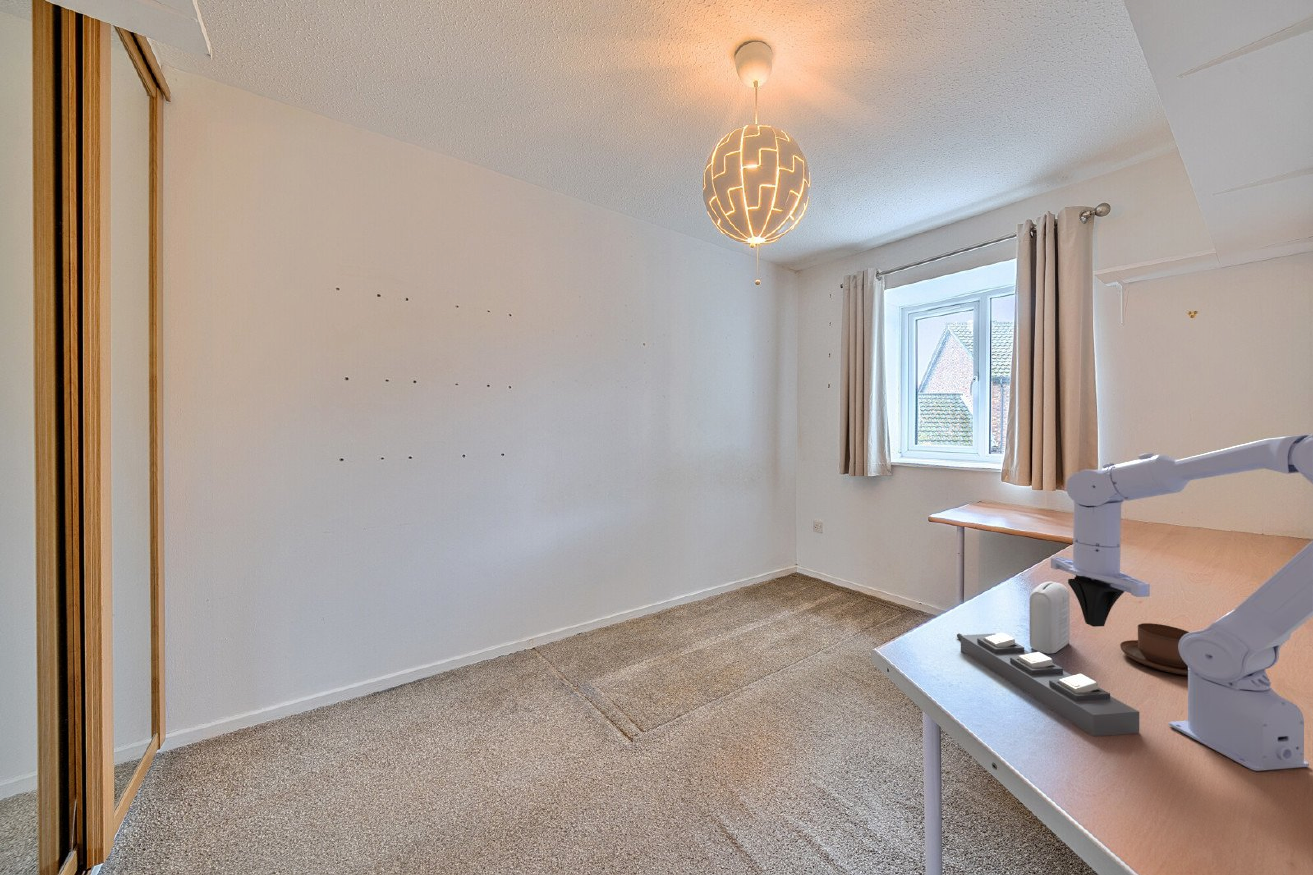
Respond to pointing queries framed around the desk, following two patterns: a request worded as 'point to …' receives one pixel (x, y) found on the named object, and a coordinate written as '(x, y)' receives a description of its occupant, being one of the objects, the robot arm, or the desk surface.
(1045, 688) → the rocker switch panel
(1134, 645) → the cup and saucer
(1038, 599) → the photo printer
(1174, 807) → the desk surface
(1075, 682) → the rocker
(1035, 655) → the middle rocker
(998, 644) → the rocker
